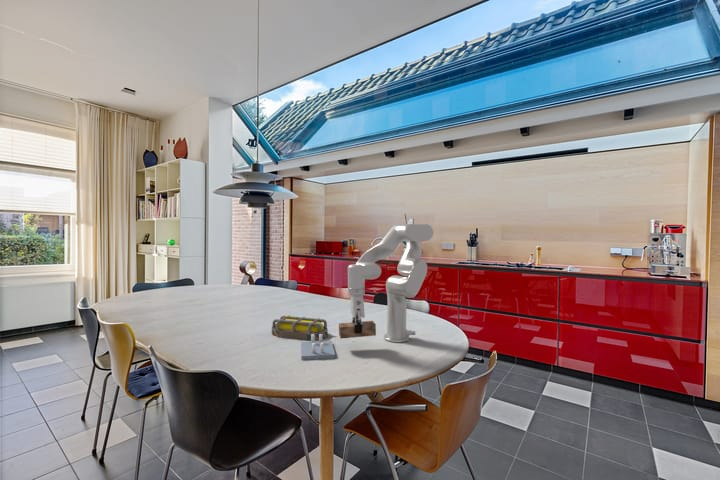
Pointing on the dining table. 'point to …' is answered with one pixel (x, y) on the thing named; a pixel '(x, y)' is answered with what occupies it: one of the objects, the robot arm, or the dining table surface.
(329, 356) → the peg stand
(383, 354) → the dining table surface
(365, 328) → the brick
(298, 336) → the cage light
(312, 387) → the dining table surface
